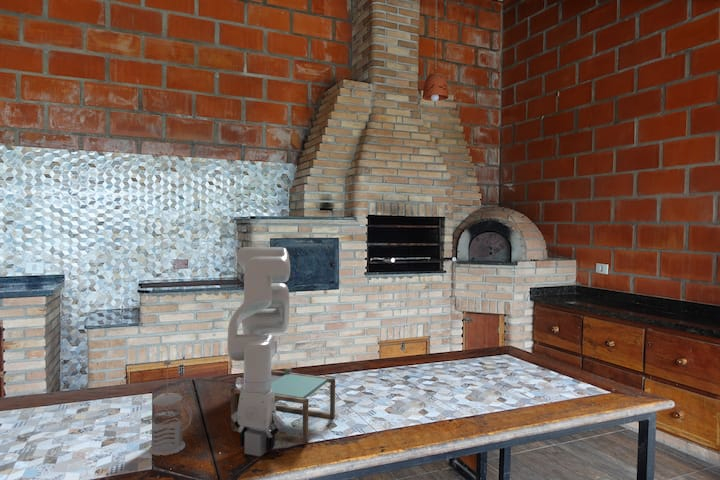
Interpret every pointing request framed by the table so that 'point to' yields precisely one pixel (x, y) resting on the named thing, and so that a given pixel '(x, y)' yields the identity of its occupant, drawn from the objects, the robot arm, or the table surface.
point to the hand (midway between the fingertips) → (257, 446)
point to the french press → (167, 424)
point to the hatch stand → (291, 409)
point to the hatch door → (295, 385)
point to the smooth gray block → (255, 442)
